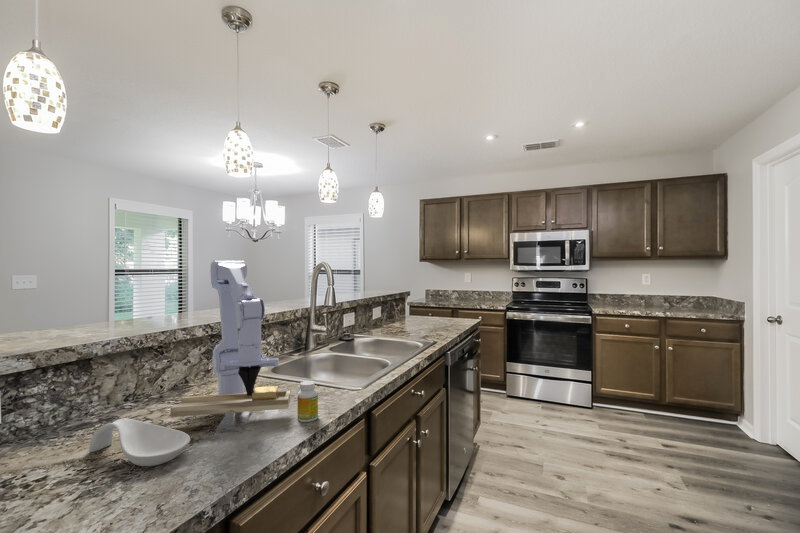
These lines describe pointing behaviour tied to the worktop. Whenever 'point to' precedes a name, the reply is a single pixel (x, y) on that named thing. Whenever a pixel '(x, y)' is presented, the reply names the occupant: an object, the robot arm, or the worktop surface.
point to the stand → (233, 421)
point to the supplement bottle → (307, 402)
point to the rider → (265, 393)
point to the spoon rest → (142, 441)
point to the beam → (228, 404)
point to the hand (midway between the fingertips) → (250, 394)
